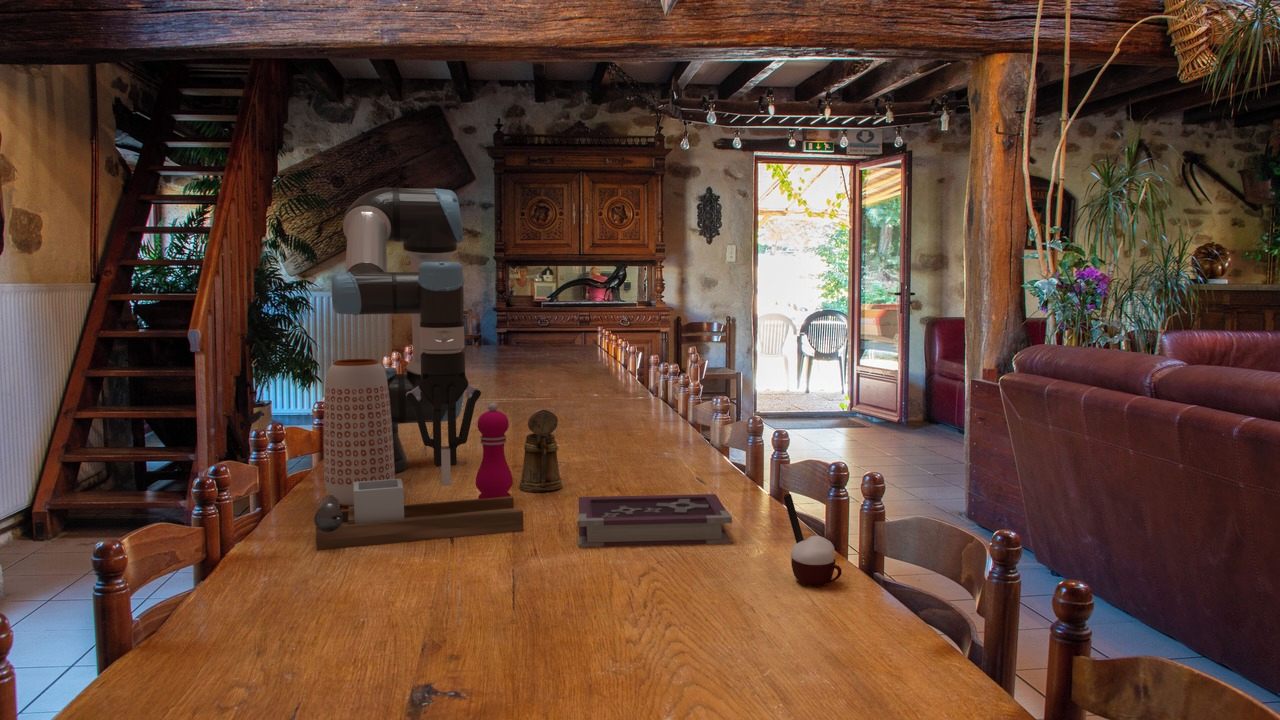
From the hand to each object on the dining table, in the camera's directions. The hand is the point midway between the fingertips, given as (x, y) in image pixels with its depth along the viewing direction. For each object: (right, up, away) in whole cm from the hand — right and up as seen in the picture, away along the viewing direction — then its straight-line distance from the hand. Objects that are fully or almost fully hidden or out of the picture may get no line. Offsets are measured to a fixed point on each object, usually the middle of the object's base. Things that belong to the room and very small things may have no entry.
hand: (445, 483), depth 153 cm
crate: (-11, -7, -4) cm, 13 cm away
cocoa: (+59, -11, -27) cm, 66 cm away
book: (+36, -9, -2) cm, 37 cm away
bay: (-4, -8, -1) cm, 9 cm away
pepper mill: (+6, -7, +17) cm, 19 cm away
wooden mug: (+14, -6, +28) cm, 32 cm away
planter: (-21, -7, +19) cm, 29 cm away
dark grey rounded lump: (-18, -7, -7) cm, 21 cm away
